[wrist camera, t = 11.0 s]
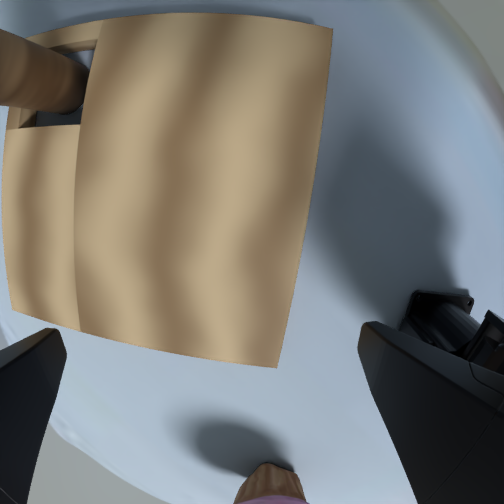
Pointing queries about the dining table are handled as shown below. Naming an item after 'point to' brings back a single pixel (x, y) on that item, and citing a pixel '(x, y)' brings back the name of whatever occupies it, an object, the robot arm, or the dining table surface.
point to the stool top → (171, 184)
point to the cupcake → (271, 487)
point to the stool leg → (39, 77)
